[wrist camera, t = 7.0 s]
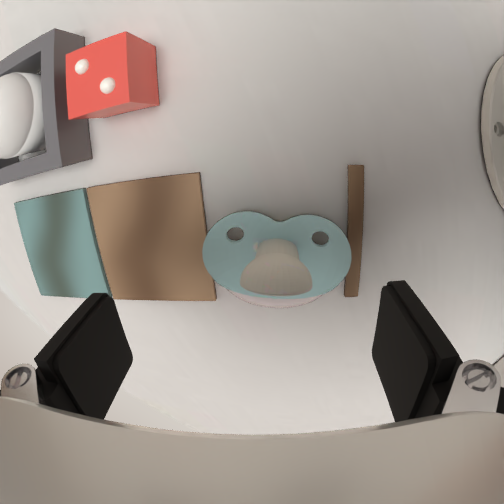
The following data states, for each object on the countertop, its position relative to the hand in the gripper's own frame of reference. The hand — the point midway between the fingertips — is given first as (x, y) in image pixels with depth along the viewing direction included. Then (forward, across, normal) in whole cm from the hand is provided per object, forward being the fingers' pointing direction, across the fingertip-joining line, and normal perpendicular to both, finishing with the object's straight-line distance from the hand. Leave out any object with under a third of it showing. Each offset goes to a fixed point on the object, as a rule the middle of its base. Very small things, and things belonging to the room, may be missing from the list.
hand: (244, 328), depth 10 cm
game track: (+8, +6, 0) cm, 10 cm away
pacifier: (+8, -1, +1) cm, 8 cm away
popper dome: (+8, +13, -10) cm, 18 cm away
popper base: (+8, +11, -10) cm, 17 cm away
